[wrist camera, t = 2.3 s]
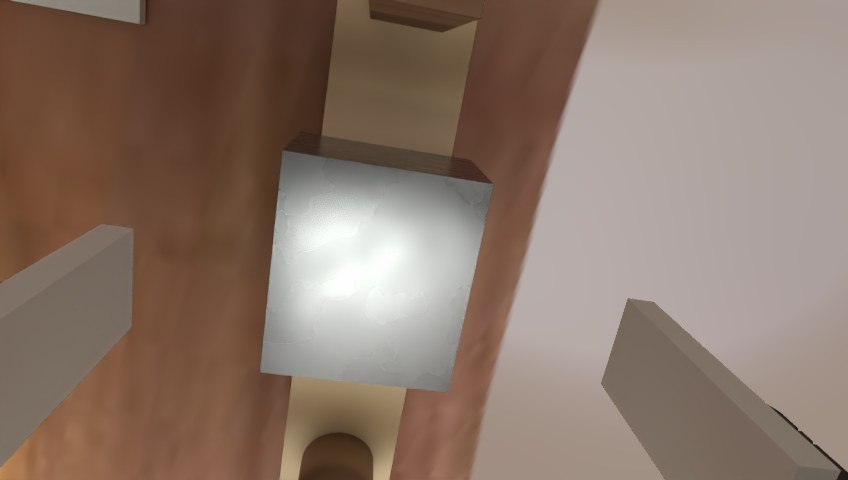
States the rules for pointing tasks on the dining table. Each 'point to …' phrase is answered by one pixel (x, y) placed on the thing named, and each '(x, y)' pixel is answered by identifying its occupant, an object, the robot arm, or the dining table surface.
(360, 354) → the lever cap
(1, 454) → the robot arm
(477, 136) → the dining table surface
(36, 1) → the mat
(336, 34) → the wooden peg base
